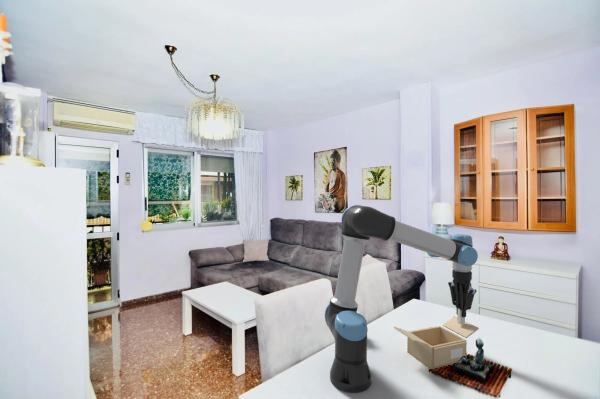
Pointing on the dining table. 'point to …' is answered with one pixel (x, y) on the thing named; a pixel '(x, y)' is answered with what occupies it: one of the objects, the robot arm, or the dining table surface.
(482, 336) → the dining table surface
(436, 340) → the carton
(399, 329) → the near flap
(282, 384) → the dining table surface
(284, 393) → the dining table surface
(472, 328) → the far flap
